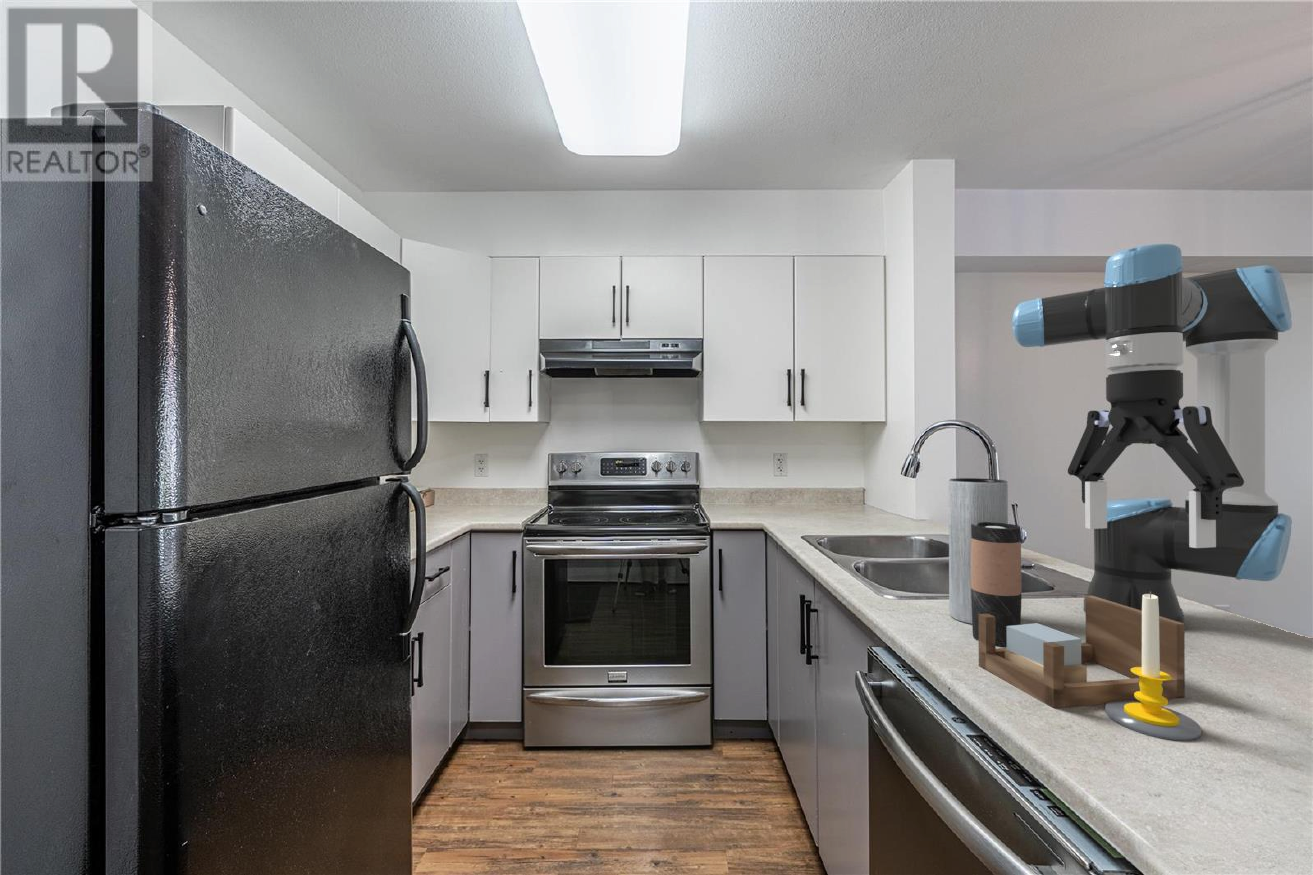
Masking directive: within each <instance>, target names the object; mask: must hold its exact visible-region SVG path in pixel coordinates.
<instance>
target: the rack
mask: <svg viewBox="0 0 1313 875" xmlns="http://www.w3.org/2000/svg"><path fill="white" fill-rule="evenodd" d="M1085 596H1086V595H1085ZM1185 642H1186V641H1185V622H1184V623H1180V622H1177V621H1174V620H1170V619H1167V618H1164V617H1161V616H1159V652H1160V671H1162V672H1164V673H1167V674H1169V675H1170V676H1171V677H1172V679H1171V680H1166V681H1163V683H1162V688H1163V691H1162V696H1163V697H1165V698H1166V699H1167V700H1169V699H1170V700H1171V699H1182V698H1185V697H1186V696H1185V695H1186V693H1185V692H1186V690H1185V689H1186V688H1185V687H1186V686H1185V685H1186V683H1185V682H1186V681H1185V680H1186V678H1185V674H1186V673H1185V671H1186V669H1185V667H1186V666H1185V665H1186V664H1185V658H1186V657H1185V654H1186V653H1185V650H1186V649H1185ZM996 647H997V646H996V644H995V617H994V616H992V615H990V614H979V641H978V666H979V667H980V668H982V669H983V670H985V671H987V672H989V673H991V674H993V675H994V676H996V677H998V678H999V679H1001V680H1003V681H1005V682H1006V683H1008V684H1010V685H1012V686H1013V687H1016V688H1018V689H1019V690H1021V691H1023V692H1024V693H1026V694H1028V695H1030V696H1032V697H1033V698H1035V699H1037V700H1039V701H1040V702H1042V703H1044V704H1046V705H1048V706H1049V707H1051V708H1052V709H1057V708H1070V707H1082V706H1094V705H1106V704H1107V703H1108V702H1111V701H1116V700H1130V701H1139V700H1137V699H1136V698H1135V697H1134V693H1135V692H1137V691H1140V687H1139V682H1140V679H1139V676H1138V675H1136V674H1134V673H1132V672H1131V668H1134V667H1142V611H1141V610H1138V609H1134V608H1131V607H1128V606H1125V605H1121V604H1118V603H1115V602H1111V601H1108V600H1105V599H1102V598H1098V597H1095V596H1086V612H1085V642H1081V663H1089V662H1090V663H1092V662H1093V663H1094V664H1098V665H1099V666H1102V667H1104V668H1107V669H1109V670H1111V671H1113V672H1116V673H1119V674H1121V675H1123V676H1124V677H1128V678H1122V679H1108V680H1106V679H1105V680H1095V681H1087V682H1079V683H1065V684H1064V646H1063V645H1060V644H1058V643H1056V642H1043V671H1044V679H1043V678H1041V677H1039V676H1037V675H1035V674H1033V673H1031V672H1029V671H1027V670H1025V669H1023V668H1021V667H1019V666H1017V665H1015V664H1013V663H1012V662H1010V661H1008V660H1006V659H1005V648H1006V647H1003V648H1002V647H1000V648H996ZM1139 702H1140V701H1139Z"/></svg>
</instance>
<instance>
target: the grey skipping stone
mask: <svg viewBox="0 0 1313 875" xmlns="http://www.w3.org/2000/svg"><path fill="white" fill-rule="evenodd" d="M1128 703H1141V701H1130V700H1116V701H1111V702H1108V703H1107V704H1105V710H1104V711H1105V714H1106V716H1107V717H1108V718H1109V719H1110V720H1112V721H1113V722H1115V723H1117V724H1118V725H1120V726H1122V727H1125V728H1127V729H1129V730H1131V731H1134V732H1137V733H1140V734H1144V735H1147V736H1150V737H1154V738H1159V739H1164V740H1165V739H1166V740H1171V741H1180V742H1181V741H1183V742H1184V741H1194V740H1197V739H1200V737H1201V735H1202V727H1201V725H1200V724H1199V723H1198V722H1197V721H1195V720H1194V719H1193V718H1191V717H1189V716H1187V715H1185V714H1183V713H1180V712H1178V711H1176V710H1174V709H1170V708H1167V707H1165V706H1161V708H1163V709H1166V710H1168V711H1170V712H1172V713H1174V714H1175V715H1176V716H1177V717H1178V718H1179V724H1178V725H1176V726H1172V727H1164V726H1157V725H1152V724H1148V723H1145V722H1142V721H1139V720H1136V719H1134V718H1132V717H1131V716H1129V715H1128V714H1127V713H1126V712H1125V711H1124V705H1125V704H1128Z"/></svg>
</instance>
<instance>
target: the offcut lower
mask: <svg viewBox="0 0 1313 875" xmlns="http://www.w3.org/2000/svg"><path fill="white" fill-rule="evenodd" d="M1004 648H1005V659H1006V660H1008V661H1010V662H1012V663H1013V664H1015V665H1017V666H1019V667H1021V668H1023V669H1025V670H1027V671H1029V672H1031V673H1033V674H1035V675H1037V676H1039V677H1041V678H1043V679H1044V671H1043V665H1041V664H1039V663H1037V662H1034V661H1032V660H1030V659H1027V658H1025V657H1023V656H1020V655H1018V654H1016V653H1013V652H1011V651H1009V650H1007V647H1004ZM1087 670H1088V667H1087V666H1085V665H1084V664H1083V663H1081V664H1076V665H1068V666H1064V684H1065V683H1079V682H1088V679H1087V678H1088V671H1087Z"/></svg>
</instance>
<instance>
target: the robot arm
mask: <svg viewBox="0 0 1313 875" xmlns="http://www.w3.org/2000/svg"><path fill="white" fill-rule="evenodd" d="M1182 256H1183V255H1182V250H1181V248H1180V247H1179V246H1178V245H1176V244H1171V243H1157V244H1155V243H1154V244H1148V245H1141V246H1136V247H1133V248H1131V247H1130V248H1128V249H1125V250H1124V249H1123V250H1121V251H1119V252H1117V253H1115V254H1112V256H1110V257H1109V258H1108V259H1107V261H1106V262H1105V273H1104V281H1103V287H1099V288H1098V287H1097V288H1093V289H1089V290H1083V291H1078V292H1077V291H1075V292H1071V293H1070V292H1069V293H1065V294H1057V295H1053V296H1052V295H1051V296H1047V297H1037V298H1036V299H1032V300H1031V299H1030V300H1027V301H1023V302H1020V303H1019V304H1018V305H1017V306H1016V307H1015V309H1014V311H1013V313H1012V314H1013V316H1012V332H1013V336H1014V338H1015V340H1016V342H1017V343H1018V345H1019V346H1021V347H1024V348H1034V347H1039V348H1041V347H1046V346H1056V345H1065V344H1072V343H1078V342H1087V341H1097V340H1099V341H1100V340H1105V351H1106V353H1105V356H1106V357H1105V358H1106V359H1105V361H1106V362H1105V364H1106V366H1105V368H1106V370H1107V371H1111V373H1110V374H1108V375H1107V376H1106V377H1105V399H1106V401H1107V402H1109V403H1110V410H1089V411H1088V412H1087V417H1086V427H1085V428H1084V431H1083V433H1082V435H1081V438H1080V440H1079V443H1078V445H1077V447H1076V449H1075V452H1074V454H1073V456H1072V459H1071V461H1070V463H1069V466H1068V468H1067V473H1068V475H1069V476H1074V477H1077V478H1078V479H1079V480H1080V482H1081V502H1082V503H1083V504H1085V505H1084V510H1085V511H1084V512H1085V514H1084V516H1085V518H1084V520H1085V522H1084V523H1085V524H1084V525H1085V529H1088V530H1093V552H1094V553H1093V556H1094V558H1093V561H1094V566H1093V567H1094V569H1093V570H1094V571H1093V572H1094V573H1093V576H1092V579H1091V580H1090V584H1089V586H1088V590H1087V593H1086V595H1084V598H1083V612H1085V613H1086V596H1095V597H1098V598H1102V599H1105V600H1108V601H1111V602H1115V603H1118V604H1121V605H1125V606H1128V607H1131V608H1134V609H1138V610H1141V611H1142V597H1143V595H1144V594H1150V591H1151V594H1152V595H1156V596H1157V597H1158V605H1159V616H1161V617H1164V618H1167V619H1170V620H1174V621H1177V622H1180V623H1184V624H1185V613H1184V610H1183V609H1182V608H1181V605H1180V602H1179V599H1178V596H1177V593H1176V590H1175V588H1174V586H1173V581H1172V570H1174V571H1175V570H1176V571H1182V572H1183V571H1184V572H1189V573H1198V574H1206V575H1212V576H1221V577H1226V578H1227V577H1228V578H1235V580H1237V581H1238V580H1239V581H1241V580H1249V581H1260V582H1269V581H1273V580H1275V579H1277V578H1278V577H1279V575H1281V572H1282V570H1283V568H1284V566H1285V562H1286V559H1287V555H1288V550H1289V546H1290V542H1291V535H1292V534H1291V533H1292V524H1293V523H1292V522H1293V520H1292V518H1291V516H1290V515H1288V514H1286V513H1284V512H1283V513H1281V512H1280V513H1279V502H1278V501H1276V499H1273V498H1272V497H1271V496H1269V495H1268V494H1267V492H1266V354H1267V353H1268V352H1269V351H1270V350H1271V349H1273V347H1275V346H1276V345H1278V344H1279V333H1284V332H1286V331H1289V330H1291V329H1292V327H1293V326H1292V324H1293V323H1292V312H1291V307H1290V303H1289V301H1290V300H1289V298H1288V297H1289V296H1288V292H1287V290H1286V285H1285V283H1284V279H1283V277H1282V274H1281V273H1280V271H1279V270H1278V269H1277V268H1276V267H1274V266H1273V265H1268V264H1267V265H1266V264H1265V265H1264V264H1263V265H1258V266H1257V265H1256V266H1248V267H1235V268H1233V269H1227V270H1221V271H1217V272H1211V273H1210V272H1209V273H1204V274H1199V275H1193V276H1189V277H1184V276H1183V269H1185V264H1184V263H1183V257H1182ZM1184 342H1185V351H1186V352H1188V353H1189V354H1190V355H1192V356H1194V358H1196V406H1195V405H1192V406H1190V405H1189V406H1187V405H1186V406H1184V407H1183V408H1181V407H1180V400H1181V399H1182V398H1183V397H1184V373H1183V372H1182V371H1181V370H1178V369H1177V368H1178V367H1181V366H1182V365H1183V364H1184ZM1180 424H1182V425H1183V426H1184V430H1185V432H1186V434H1187V435H1185V433H1184V432H1183V431H1182V430H1181V429H1180V428H1179V427H1178V425H1180ZM1110 425H1111V426H1112V428H1111V429H1110ZM1109 429H1110V430H1109ZM1187 436H1188V437H1189V440H1190V441H1191V443H1192V445H1193V446H1192V445H1191V444H1190V443H1189V442H1188V437H1187ZM1134 444H1142V445H1145V444H1146V445H1151V444H1153V445H1156V446H1157V447H1159V448H1161V449H1163V451H1164V452H1165V453H1166V454H1167V455H1168V456H1169V458H1170V459H1172V462H1173V463H1175V465H1176V466H1177V467H1178V468H1179V469H1180V470H1181V472H1182V473H1183V474H1184V475H1185V476H1186V478H1188V480H1189V481H1190V482H1191V483H1192V484H1193V486H1194V488H1193V489H1192V490H1190V491H1188V495H1187V496H1186V497H1185V499H1184V501H1185V502H1184V503H1185V504H1184V507H1183V506H1181V507H1179V506H1173V502H1172V501H1171V499H1170V498H1165V497H1164V498H1159V497H1151V498H1150V497H1148V498H1147V497H1146V498H1144V497H1143V498H1126V499H1125V498H1124V499H1113V500H1111V499H1110V500H1108V493H1107V492H1108V482H1107V481H1105V478H1104V475H1105V474H1106V473H1107V471H1108V470H1109V469H1110V468H1111V467H1112V465H1113V464H1114V463H1115V462H1116V461H1117V459H1118V458H1119V457H1120V456H1121V455H1122V453H1123V452H1124V451H1125V450H1126V448H1127V447H1130V446H1131V445H1134ZM1194 448H1195V449H1194Z"/></svg>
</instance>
